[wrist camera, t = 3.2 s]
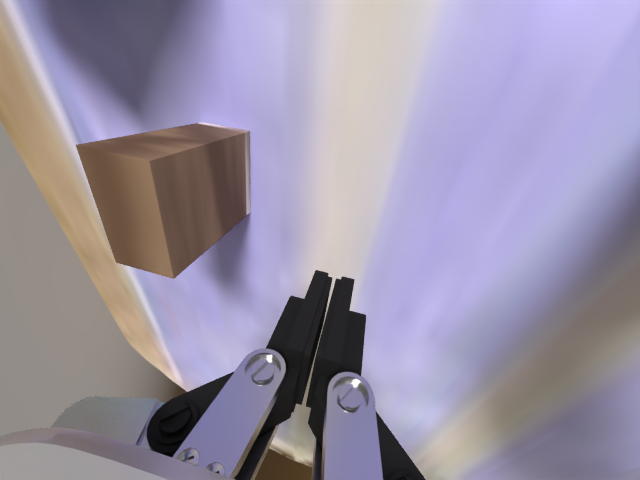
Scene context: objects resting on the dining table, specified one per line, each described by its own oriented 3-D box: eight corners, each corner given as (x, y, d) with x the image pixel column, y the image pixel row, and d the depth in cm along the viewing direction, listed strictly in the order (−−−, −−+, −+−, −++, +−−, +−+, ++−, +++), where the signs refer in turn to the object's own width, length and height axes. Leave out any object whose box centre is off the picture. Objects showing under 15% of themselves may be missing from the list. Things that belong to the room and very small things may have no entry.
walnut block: (249, 131, 20) (149, 161, 12) (250, 212, 24) (173, 278, 16) (203, 122, 21) (76, 144, 13) (210, 202, 25) (116, 262, 16)
